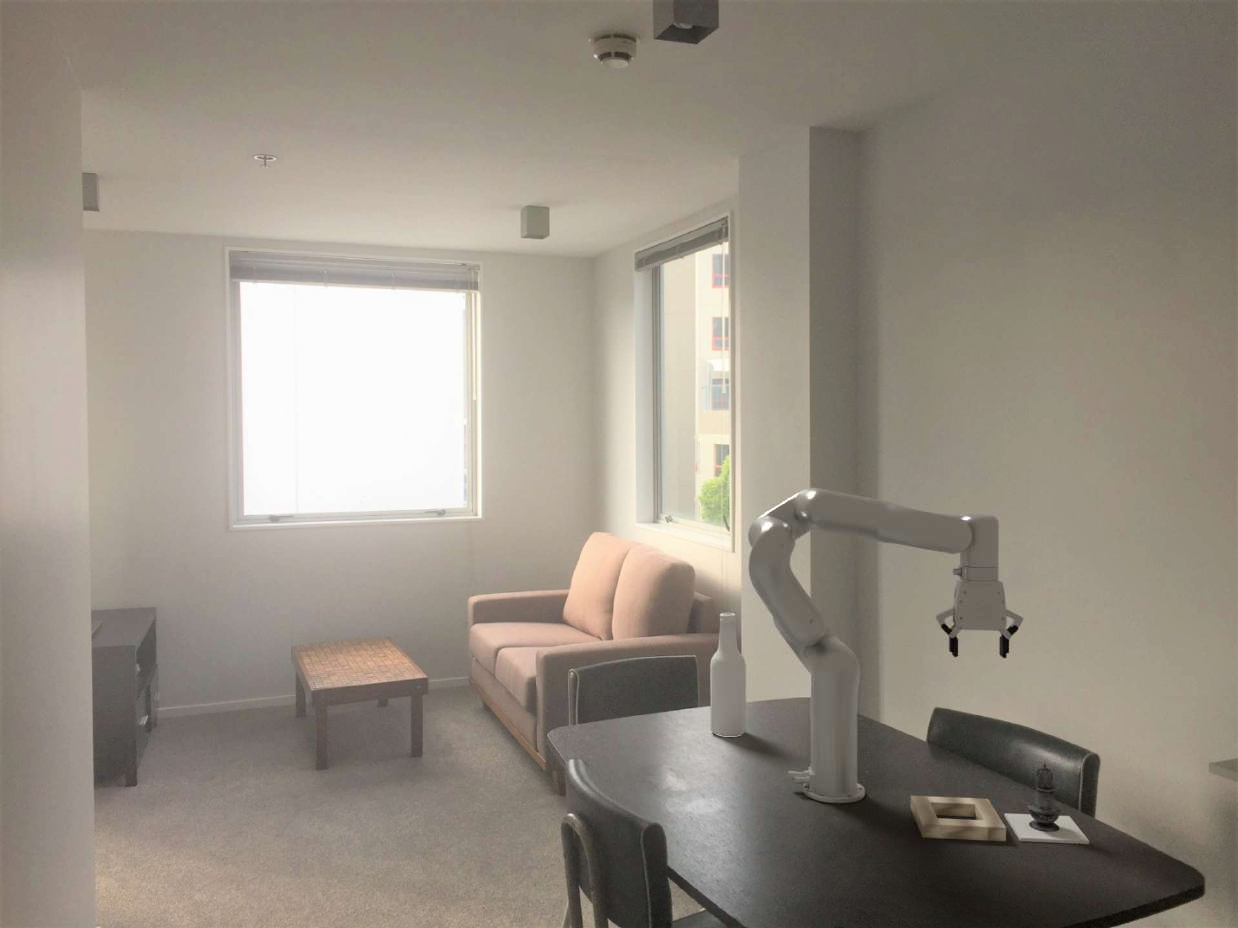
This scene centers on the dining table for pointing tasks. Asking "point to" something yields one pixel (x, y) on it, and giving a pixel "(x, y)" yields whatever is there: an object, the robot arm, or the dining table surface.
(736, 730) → the alcohol
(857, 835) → the dining table surface
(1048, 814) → the black chess piece
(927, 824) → the frame
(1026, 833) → the rubber mat
